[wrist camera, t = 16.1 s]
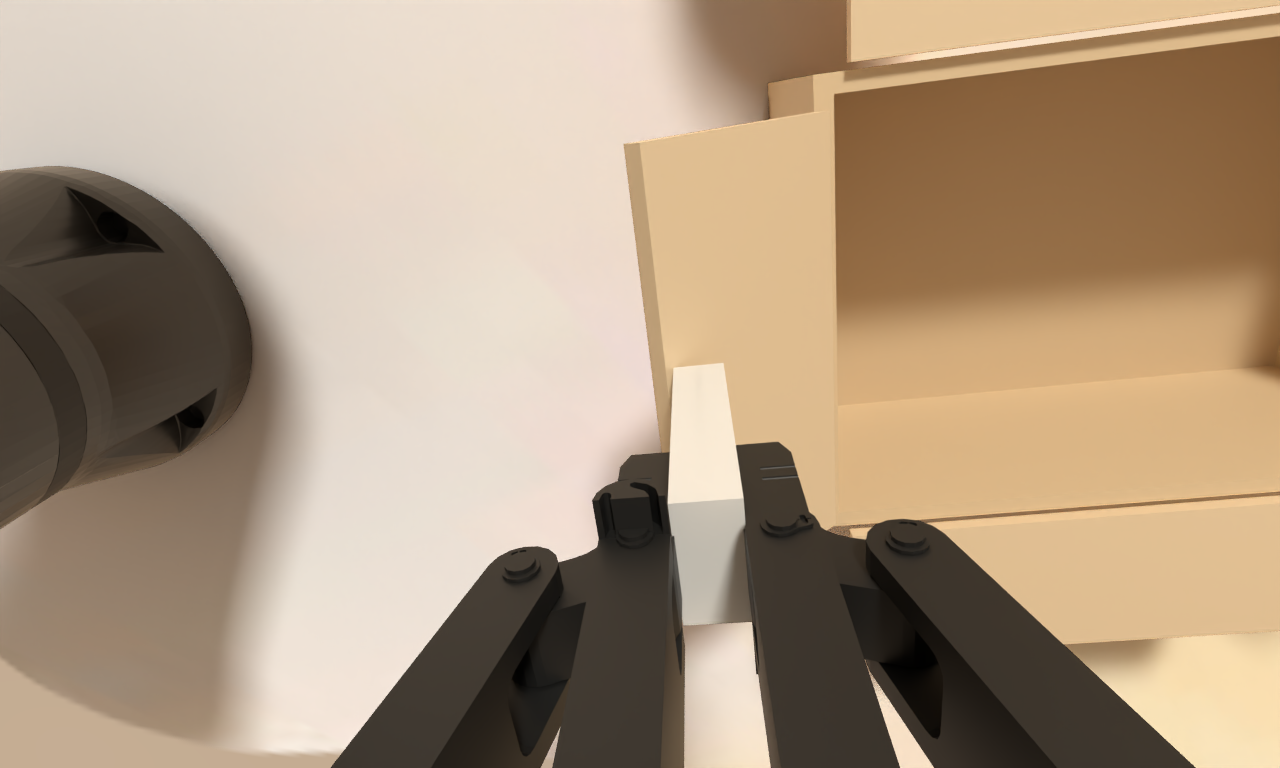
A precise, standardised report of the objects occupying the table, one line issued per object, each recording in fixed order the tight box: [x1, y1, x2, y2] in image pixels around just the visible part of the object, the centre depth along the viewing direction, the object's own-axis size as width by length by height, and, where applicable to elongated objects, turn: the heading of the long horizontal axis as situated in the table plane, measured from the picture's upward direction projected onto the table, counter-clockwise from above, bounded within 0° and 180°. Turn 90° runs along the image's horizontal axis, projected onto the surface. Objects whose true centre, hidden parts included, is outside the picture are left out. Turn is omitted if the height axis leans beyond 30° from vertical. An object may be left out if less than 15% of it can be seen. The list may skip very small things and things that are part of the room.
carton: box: [768, 0, 1280, 644], centre depth 27 cm, size 24×28×10 cm
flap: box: [624, 111, 836, 530], centre depth 20 cm, size 1×14×7 cm
